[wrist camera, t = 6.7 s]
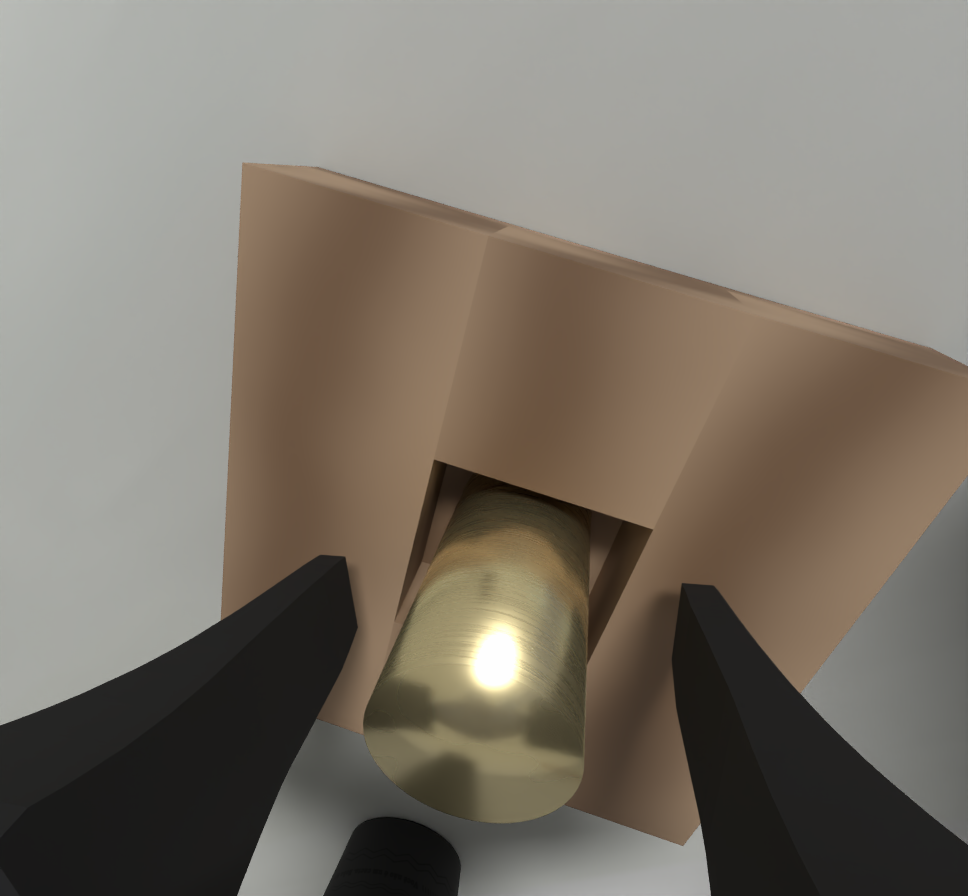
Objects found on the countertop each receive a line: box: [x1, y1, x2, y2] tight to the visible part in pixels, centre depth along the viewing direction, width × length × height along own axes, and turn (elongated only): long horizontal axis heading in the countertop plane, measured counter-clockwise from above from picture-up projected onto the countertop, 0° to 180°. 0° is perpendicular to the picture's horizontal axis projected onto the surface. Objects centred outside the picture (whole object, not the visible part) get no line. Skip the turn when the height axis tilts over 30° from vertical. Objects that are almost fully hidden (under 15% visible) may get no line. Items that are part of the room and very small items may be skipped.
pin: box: [363, 473, 591, 823], centre depth 12 cm, size 4×4×7 cm
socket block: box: [221, 163, 968, 846], centre depth 14 cm, size 14×14×3 cm
